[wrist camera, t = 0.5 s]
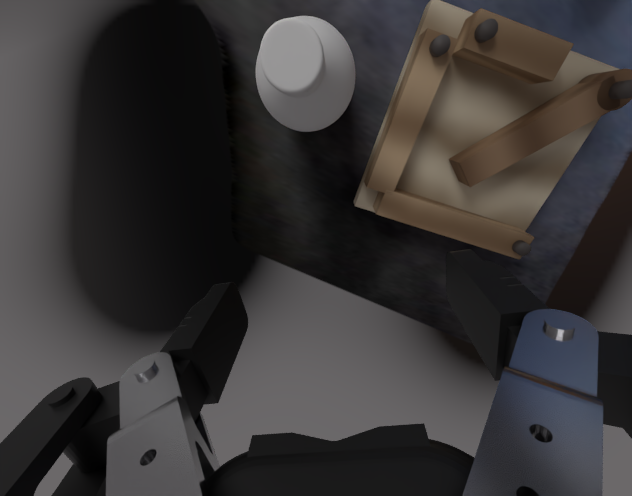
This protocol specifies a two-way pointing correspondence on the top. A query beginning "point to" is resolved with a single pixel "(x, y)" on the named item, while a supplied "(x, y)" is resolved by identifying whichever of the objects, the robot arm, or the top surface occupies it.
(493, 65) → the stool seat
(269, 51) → the bath foam
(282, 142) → the top surface
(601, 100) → the brown rectangular block
